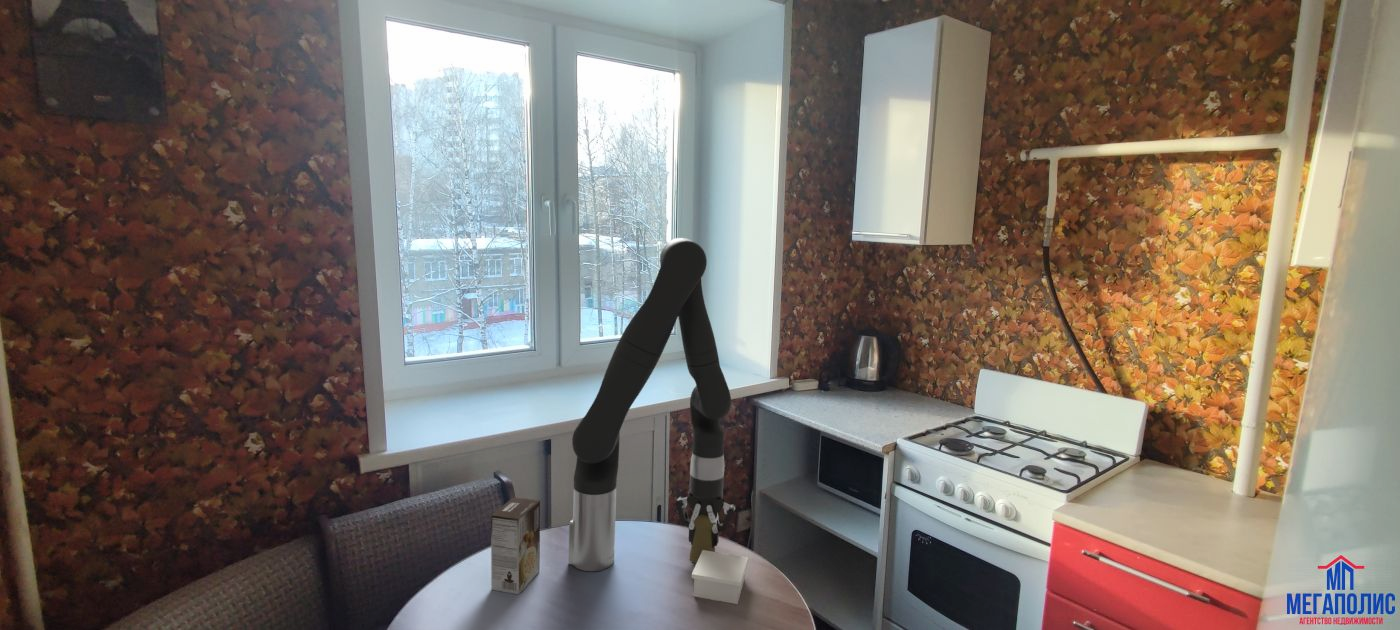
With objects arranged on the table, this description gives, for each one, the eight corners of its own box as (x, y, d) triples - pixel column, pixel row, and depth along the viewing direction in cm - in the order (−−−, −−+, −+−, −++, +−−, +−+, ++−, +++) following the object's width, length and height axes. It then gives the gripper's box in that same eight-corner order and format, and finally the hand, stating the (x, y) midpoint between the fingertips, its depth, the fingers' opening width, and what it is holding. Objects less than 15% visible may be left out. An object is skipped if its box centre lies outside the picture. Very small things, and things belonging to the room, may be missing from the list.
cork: (696, 549, 143) (698, 504, 141) (720, 556, 140) (722, 510, 139) (684, 560, 137) (686, 514, 136) (709, 568, 135) (711, 520, 133)
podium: (690, 597, 123) (691, 574, 123) (701, 571, 133) (702, 550, 132) (739, 606, 121) (740, 582, 121) (746, 579, 131) (748, 557, 130)
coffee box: (512, 567, 131) (513, 495, 129) (540, 571, 130) (541, 499, 128) (490, 590, 122) (490, 514, 120) (519, 595, 121) (520, 518, 119)
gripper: (671, 474, 134) (668, 548, 136) (735, 483, 131) (731, 558, 133) (680, 462, 141) (677, 533, 143) (741, 470, 138) (737, 542, 140)
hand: (703, 544), depth 138 cm, fingers closed on cork, 4 cm apart
